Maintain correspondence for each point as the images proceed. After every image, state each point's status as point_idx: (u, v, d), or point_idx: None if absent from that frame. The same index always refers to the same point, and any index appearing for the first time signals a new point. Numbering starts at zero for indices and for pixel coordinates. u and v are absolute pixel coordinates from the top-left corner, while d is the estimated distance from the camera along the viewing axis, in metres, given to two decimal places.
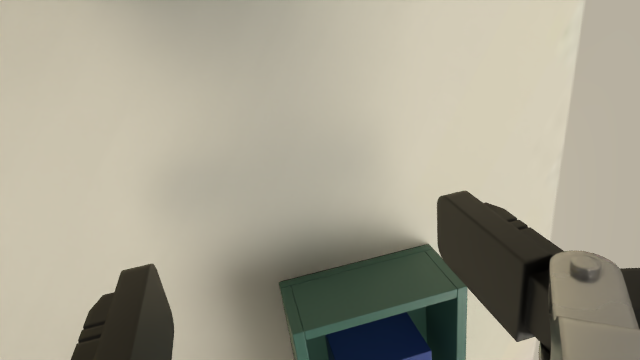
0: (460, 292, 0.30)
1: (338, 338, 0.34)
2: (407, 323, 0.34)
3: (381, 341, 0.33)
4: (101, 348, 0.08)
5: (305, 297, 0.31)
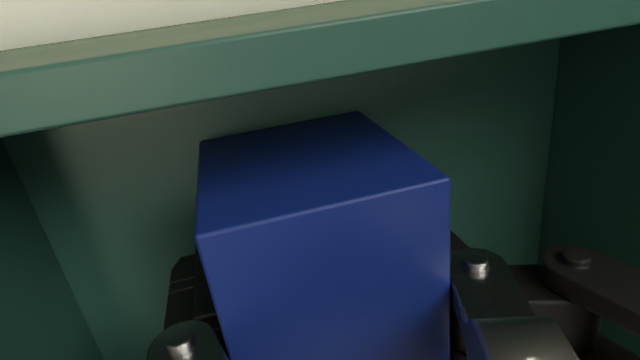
0: None
1: None
2: None
3: None
4: (197, 295, 0.09)
5: None
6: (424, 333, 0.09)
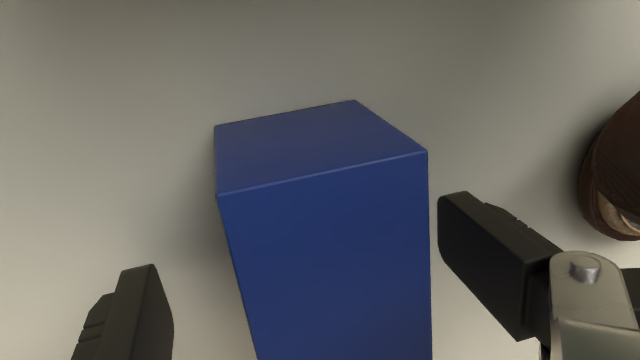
0: None
1: None
2: None
3: None
4: (101, 348, 0.08)
5: None
6: (408, 286, 0.10)
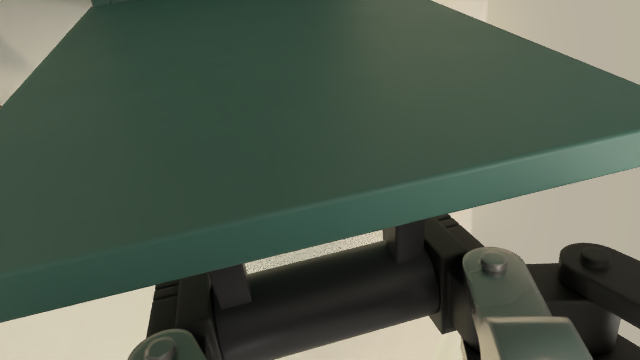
0: None
1: None
2: None
3: None
4: (181, 302, 0.09)
5: None
6: None
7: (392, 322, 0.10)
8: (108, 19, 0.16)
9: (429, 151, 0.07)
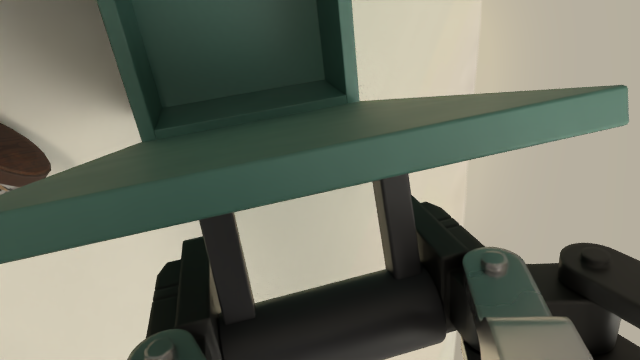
0: None
1: None
2: None
3: None
4: (180, 302, 0.09)
5: None
6: None
7: (399, 342, 0.10)
8: (153, 142, 0.20)
9: (390, 128, 0.08)
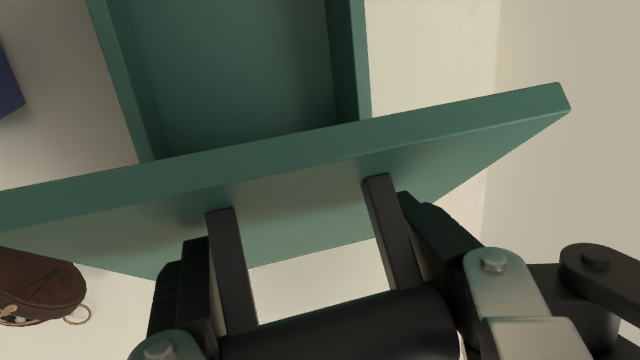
0: None
1: None
2: None
3: None
4: (181, 302, 0.09)
5: None
6: None
7: (408, 348, 0.09)
8: None
9: None
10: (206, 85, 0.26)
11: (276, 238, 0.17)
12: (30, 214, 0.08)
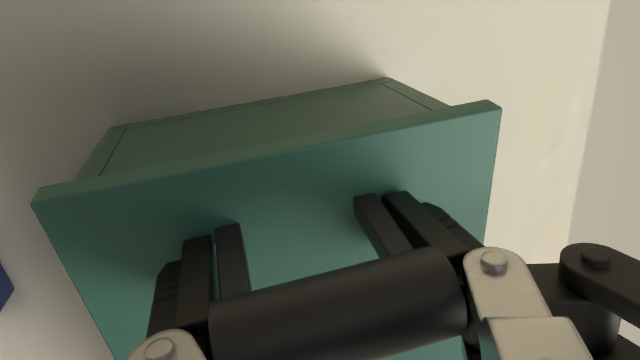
0: None
1: None
2: None
3: None
4: (180, 302, 0.09)
5: (139, 139, 0.16)
6: None
7: (398, 277, 0.09)
8: None
9: None
10: None
11: None
12: (79, 189, 0.10)
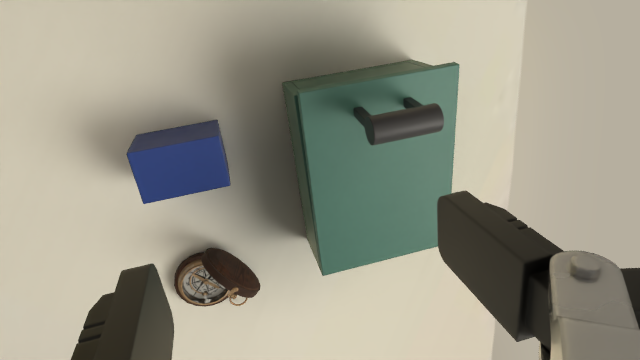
0: None
1: (143, 137, 0.36)
2: (211, 126, 0.36)
3: (180, 135, 0.35)
4: (101, 348, 0.08)
5: (305, 84, 0.36)
6: (187, 188, 0.34)
7: (423, 108, 0.29)
8: None
9: None
10: None
11: (378, 179, 0.35)
12: (313, 89, 0.30)
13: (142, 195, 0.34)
